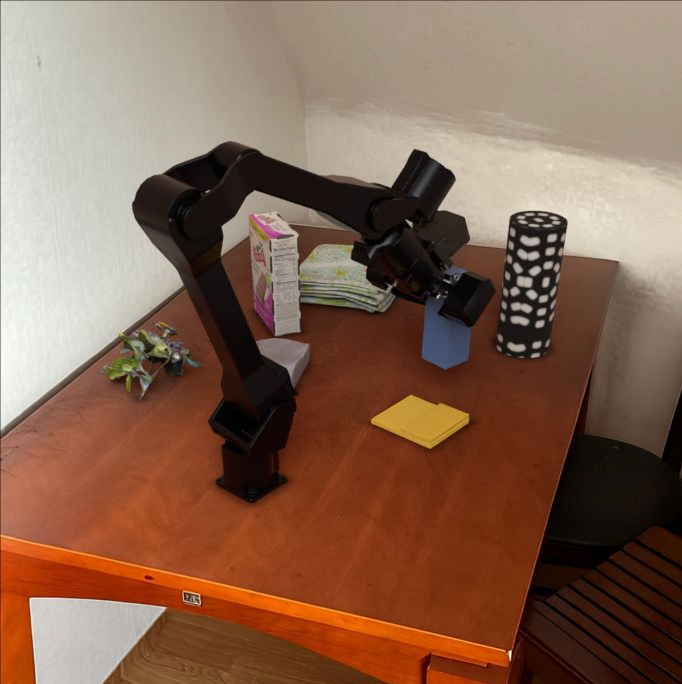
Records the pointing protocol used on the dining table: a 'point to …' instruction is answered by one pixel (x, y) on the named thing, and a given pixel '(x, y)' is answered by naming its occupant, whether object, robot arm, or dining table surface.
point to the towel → (340, 281)
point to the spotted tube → (530, 283)
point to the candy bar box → (275, 272)
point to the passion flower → (150, 356)
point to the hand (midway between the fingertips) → (455, 312)
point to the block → (444, 334)
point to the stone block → (287, 355)
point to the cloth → (421, 421)
